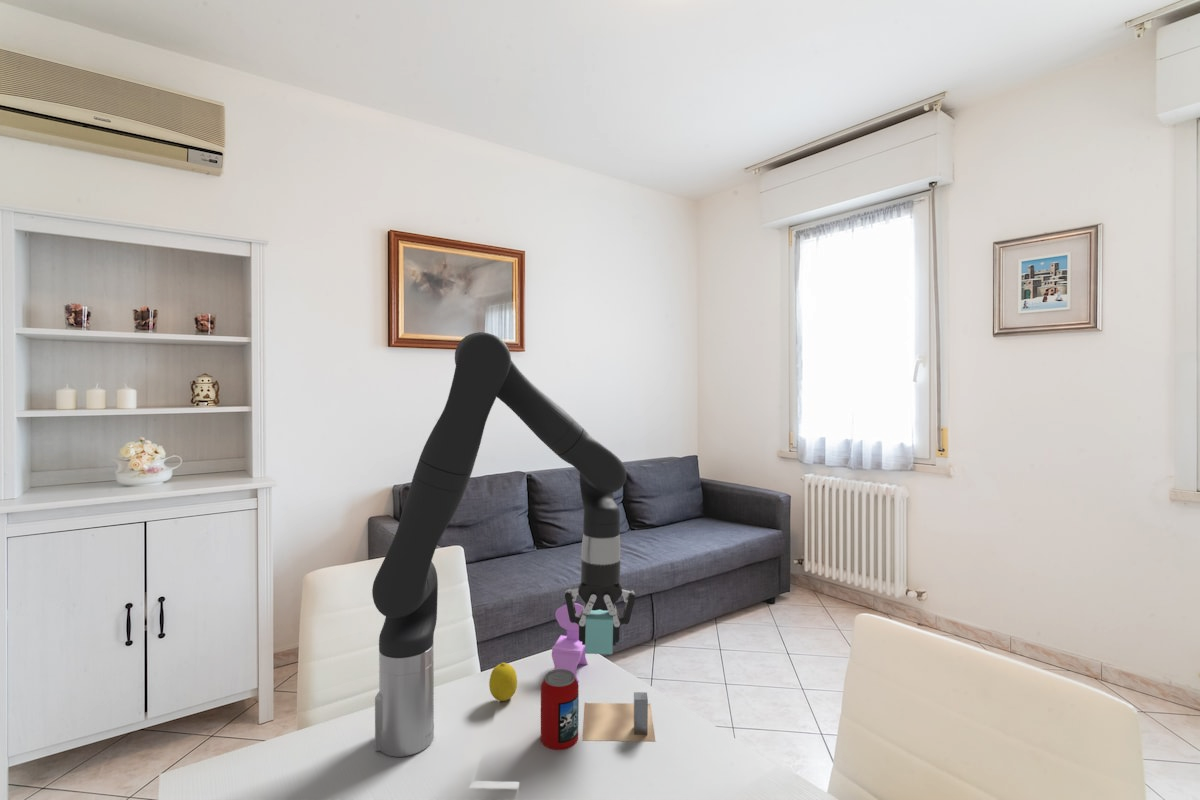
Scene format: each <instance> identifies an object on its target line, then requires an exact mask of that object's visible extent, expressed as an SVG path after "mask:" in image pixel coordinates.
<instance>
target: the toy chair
mask: <svg viewBox="0 0 1200 800" xmlns="http://www.w3.org/2000/svg"><path fill="white" fill-rule="evenodd" d="M574 605H575V610H576V614H579V615H581V613H582V610H583V607H584V605H581V604H580V603H576V602H574ZM554 615H555V619H556V621H557V623H558V624H559V627H561V628H562V629H564V630H565V631H566V635H562V634H560V636H559V637H558V639H557V640H556V642H555V643H554V644H553V646H552V648H551V658H552V662H553V665H554V666H553V667H554V670H557V669H565V670H569V671H571V672H572V673H573V674H574V675H575V679H576V680H577V682H578V683H579V682H580V681H579V679H578V676H577V668H578V665H586V666H588V665H589V663H588V660H587V658H586V654H585V645H582V642H580V641H579V625H578V624H577V623H571V622H570V619H569V614H568V609H567V604H566V603H565V604H564V605H561V606H560V607H558V608H557V609H556V611H555V614H554Z"/></svg>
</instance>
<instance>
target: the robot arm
mask: <svg viewBox="0 0 1200 800" xmlns="http://www.w3.org/2000/svg"><path fill="white" fill-rule="evenodd" d="M454 351H455V352H454V364H455V368H454V374H453V378H452V382H451V386H450V389H449V393H448V395H447V400H446V403H445V406H444V408H443V410H442V413H441V415H440V416H439V418H438V419H437V421H436V423H435V425H434V426H433V428H432V430H431V432H430V434H429V436H428V438H427V440H426V441H425V444H424V446H423V449H422V451H421V453H420V456H419V459H418V461H417V464H416V466H415V467H416V468H415V470H414V473H413V476H412V479H411V483H410V486H409V489H408V493H407V495H406V499H405V501H404V505H403V509H402V512H401V516H400V518H399V521H398V522H399V523H398V526H397V529H396V531H395V534H394V537H393V539H392V541H391V544H390V546H389V547H388V550H387V552H386V555H385V557H384V559H383V561H382V563H381V565H380V567H379V570H378V571H377V573H376V576H375V578H374V581H373V584H372V590H371V591H372V592H371V593H372V599H373V602H374V606H375V608H376V609H377V610H378V612H379V613H380V614H382V615H383V616H384V617H385V618H384V621H383V625H382V628H381V630H380V634H379V637H378V660H379V661H378V662H379V663H378V665H379V666H378V673H379V677H378V679H379V682H378V683H379V684H378V685H379V688H378V689H379V690H378V692H377V694H376V695H375V696H374V751H375V752H381V753H383V754H385V755H387V756H389V757H395V758H396V757H399V758H402V757H408V756H413V755H415V754H418V753H420V752H422V751H423V750H425V749H426V748H428V747H429V746H430V745H431V744H432V742H433V741H434V738H435V737H434V735H435V734H434V733H435V732H434V731H435V721H434V719H435V717H434V716H435V715H434V714H435V713H434V707H435V705H434V703H435V702H434V700H435V699H434V698H435V696H434V695H435V693H434V690H435V688H434V684H435V682H434V680H435V679H434V678H435V677H434V674H435V673H434V672H435V671H434V663H435V662H434V660H435V659H434V656H435V655H434V653H435V651H434V635H435V634H434V633H435V630H436V627H437V620H438V618H437V617H438V597H439V596H438V594H439V593H438V590H439V588H438V585H439V584H438V583H439V581H438V573H437V569H436V567H435V564H434V563H433V558H434V554H435V551H436V549H437V546H438V544H439V542H440V541H441V538H442V536H443V534H444V533H445V531H446V530H447V528H448V526H449V524H450V522H451V521H452V520H453V519H452V518H453V517H454V515H455V514H456V512H457V510H458V508H459V506H460V504H461V502H462V500H463V497H464V494H465V492H466V491H467V487H468V484H469V481H470V478H471V475H472V473H473V470H474V466H475V463H476V459H477V456H478V452H479V449H480V447H481V446H480V445H481V443H482V439H483V434H484V430H485V427H486V422H487V420H488V418H489V415H490V413H491V411H492V408H493V405H494V403H495V402H496V399H497V398H498V399H499V400H500V402H502V403H504V404H505V405H506V406H507V407H508V409H510V410H511V411H512V412H513V413H514V414H515V415H516V416H517V417H518V418H519V419H520V420H521V421H522V422H523V423H524V424H525V426H527V427H528V428H529V430H530V431H531V432H532V433H533V434H534V435H535V436H536V437H537V438H538V439H539V440H540V441H542V442H543V444H544V445H545V446H547V448H549V449H550V450H551V451H552V452H553V453H554V454H555V455H556V456H557V457H558V458H560V459H561V460H563V461H564V462H566V463H568V464H570V465H571V466H573V467H574V468H575V469H576V470H577V471H578V472H579V488H580V495H581V501H582V506H583V524H582V525H583V528H582V530H583V533H582V534H583V535H582V540H581V541H582V542H581V551H580V553H581V563H580V564H581V566H580V567H581V569H580V583H579V585H578V587H577V588H573V589H571V588H569V587H567V588H566V589H565V590H564V591H565V593H564V598H565V605H566V604H567V609H568V614H569V619H570V622H571V623H577V624H578V625H579V641H580V642H582V645H585V631H586V616H589V615H590V612H591V610H603V611H609V614H610V616H611V617H613V647H614V646H616V643H619V642H620V627H621V626H622V625H629V623H630V620H631V616H632V612H633V608H634V604H635V601H636V600H635V599H636V592H635V590H634V589H629V590H628V589H627V590H626V589H624V588H623V587H622V586H621V554H622V551H621V547H622V546H621V538H620V529H621V526H620V525H621V521H620V520H621V515H620V514H621V513H620V512H621V511H620V508H619V506H618V505H617V503H616V501H615V500H614V493H616V492H617V491H619V490H620V489H622V488H623V486H624V485H625V483H626V480H627V469H626V466H625V464H624V463H623V461H622V460H621V459H620V458H619V457H618V456H617V455H615V453H613V452H612V451H611V450H609V449H608V448H607V447H606V446H604V445H603V444H602V443H601V442H599V441H598V440H596V439H595V438H593V436H591V435H590V433H588V431H586V429H585V428H584V427H583V426H582V425H580V423H579V422H577V421H576V419H575V418H573V417H572V416H571V415H570V414H569V413H568V412H567V411H566V410H565V409H564V408H563V407H561V406H560V405H559V404H558V403H557V402H555V401H554V400H552V399H551V398H550V397H549V396H547V394H545V393H544V392H543V391H541V390H540V389H539V388H538V387H537V386H536V385H535V384H534V383H533V382H531V381H530V380H529V379H528V377H527V376H526V375H525V374H524V373H522V371H521V370H520V369H519V368H518V366H517V365H516V364H515V363H514V361H513V360H512V356H511V353H510V349H509V347H508V346H507V343H505V342H504V341H503V339H501V338H500V337H498V336H497V335H494V334H491V333H488V332H483V331H482V332H473V333H470V334H468V335H466V336H464V337H463V338H462V339H461V340H460V341H459V343H458V344H457V345H456V348H455V350H454ZM577 596H579V597H580V598H581V599H582V601H583V603H584V605H583V610H582V613H581V615H579V614H576V610H575V605H574V603H575V602H576V600H577ZM621 597H623V601H624V604H625V605H624V609H623V613H622V614H620V615H619V612H618V610H617V606H616V603H617V601H618V600H619V599H620V598H621Z"/></svg>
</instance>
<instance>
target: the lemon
mask: <svg viewBox="0 0 1200 800" xmlns="http://www.w3.org/2000/svg"><path fill="white" fill-rule="evenodd" d="M517 677H518V676H517V672H516V670H515V669H514V667H513V666H512V665H510V664H509V663H506V662H501V663H499V664H497V665H496V666H495V667H494V668H493V669H492V671H491V674H490V676H489V682H488V686H489V690H490V694H491V696H492V697H493V698H494V699H495V700H497V701H500V702H505V701H508V700H510V699H511V698H512V697H513V696H514V695H515V693H516V690H517V687H518V678H517Z"/></svg>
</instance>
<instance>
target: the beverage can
mask: <svg viewBox="0 0 1200 800" xmlns="http://www.w3.org/2000/svg"><path fill="white" fill-rule="evenodd" d="M579 687H580V686H579V682H577V680H576V679H575V675H574V674H573V673H572V672H571V671H569V670H565V669H557V670H555V669H553V670H550V671H549V672H547V673H545V676H544V679H543V681H542V682H541V684H540V741H541V744H542V745H543V746H545V748H548V749H550V750H554V751H562V750H567V749H570V748H571V747H573V746H575V745H576V744H577V742H578V740H579V704H580V703H579V702H580V701H579V695H580V694H579Z"/></svg>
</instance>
